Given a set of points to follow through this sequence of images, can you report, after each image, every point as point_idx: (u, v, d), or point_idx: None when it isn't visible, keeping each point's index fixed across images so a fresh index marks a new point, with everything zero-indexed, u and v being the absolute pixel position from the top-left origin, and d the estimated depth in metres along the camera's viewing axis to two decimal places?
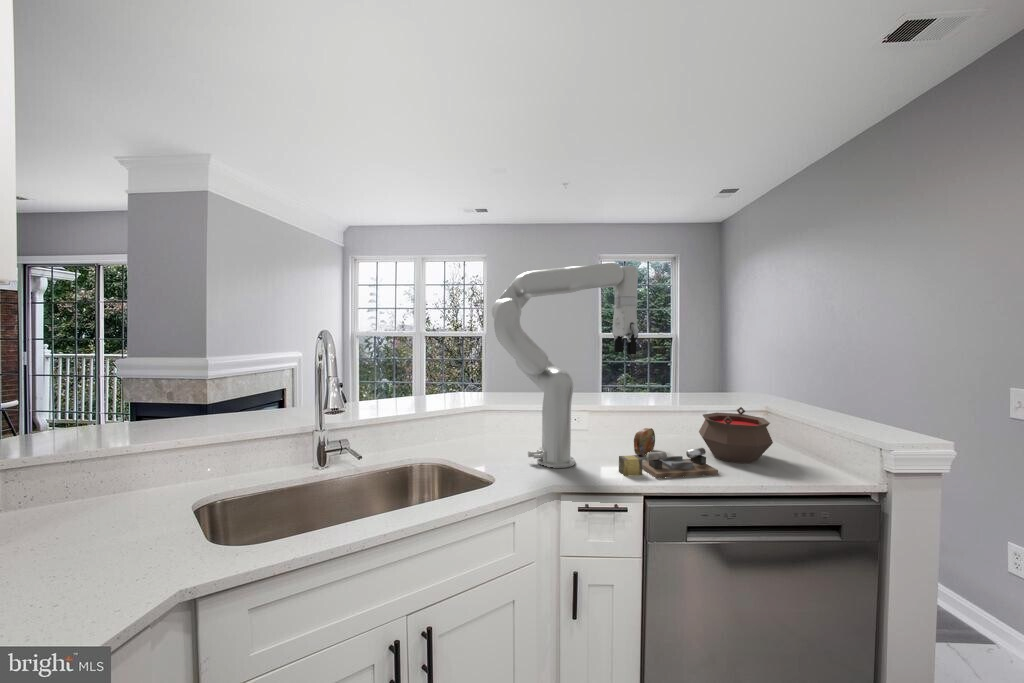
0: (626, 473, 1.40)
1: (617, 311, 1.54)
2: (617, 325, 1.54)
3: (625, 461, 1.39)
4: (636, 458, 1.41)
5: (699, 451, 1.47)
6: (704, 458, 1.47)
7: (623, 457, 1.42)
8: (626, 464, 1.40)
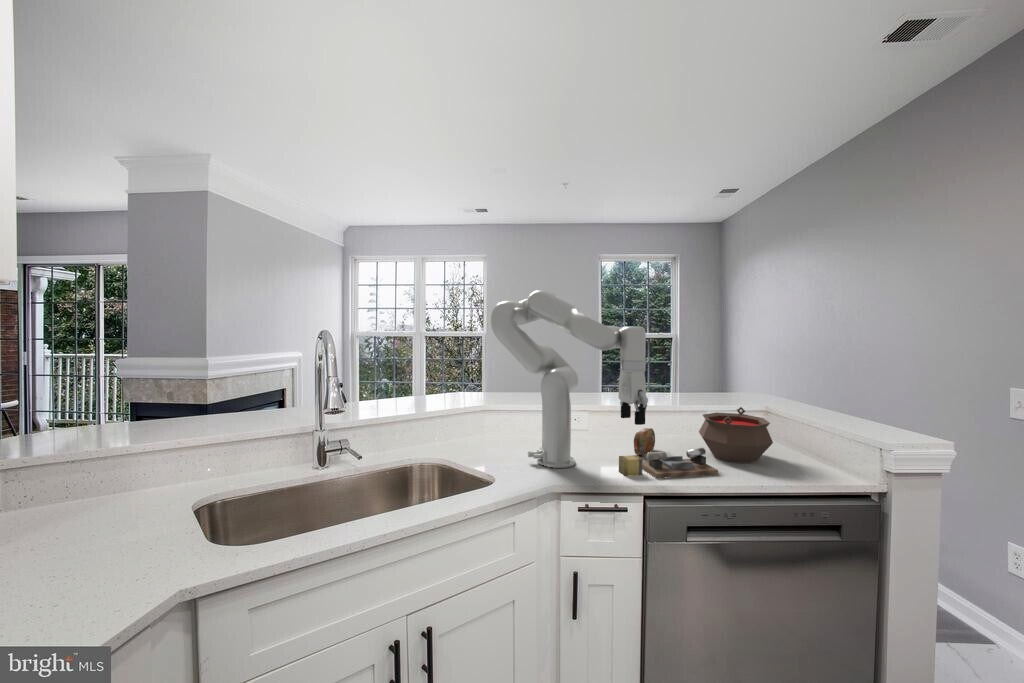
0: (626, 473, 1.40)
1: (624, 376, 1.40)
2: (624, 391, 1.41)
3: (625, 461, 1.39)
4: (636, 458, 1.41)
5: (699, 451, 1.47)
6: (704, 458, 1.47)
7: (623, 457, 1.42)
8: (626, 464, 1.40)
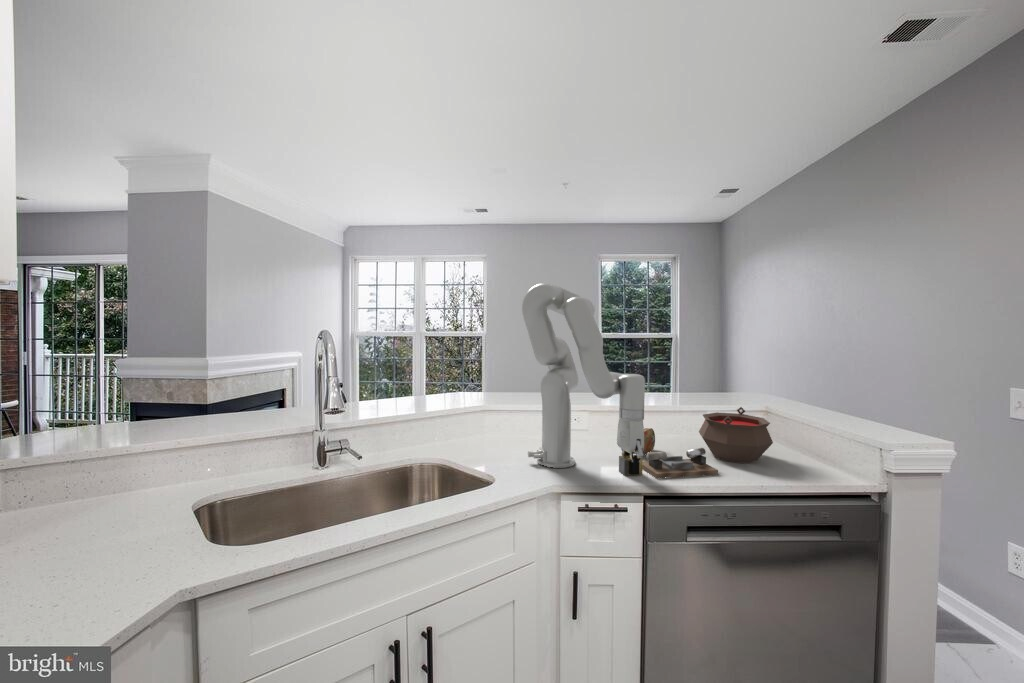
0: (626, 473, 1.40)
1: (623, 423, 1.41)
2: (622, 438, 1.41)
3: (625, 461, 1.39)
4: None
5: (699, 451, 1.47)
6: (704, 458, 1.47)
7: (623, 457, 1.42)
8: (626, 464, 1.39)
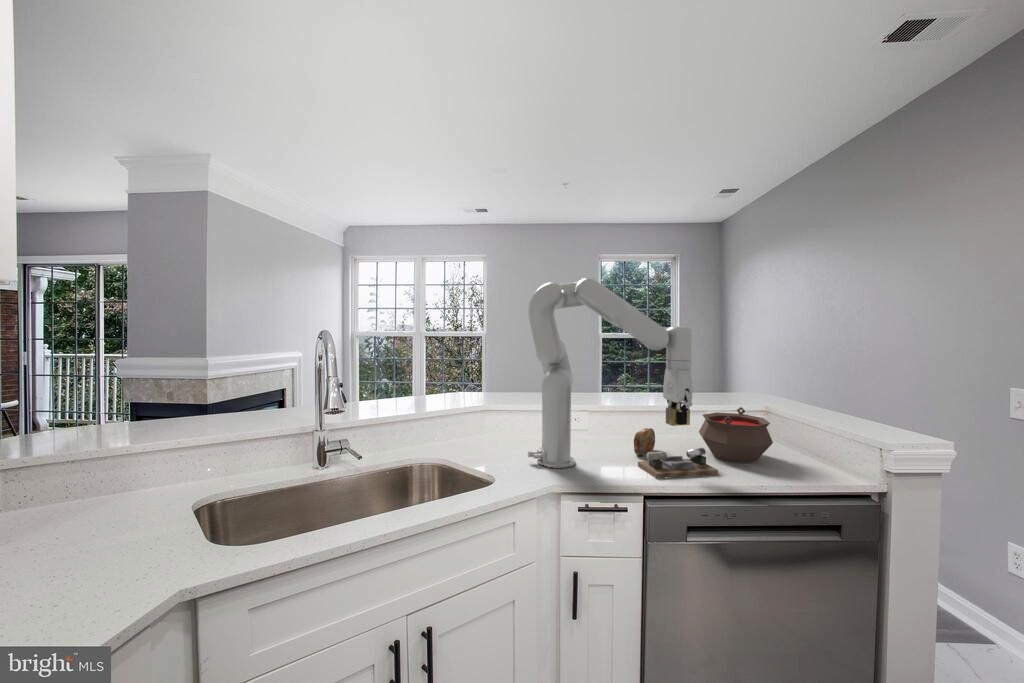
0: (674, 423, 1.42)
1: (670, 375, 1.43)
2: (669, 389, 1.44)
3: (673, 411, 1.42)
4: None
5: (699, 451, 1.47)
6: (704, 458, 1.47)
7: (670, 408, 1.44)
8: (674, 414, 1.42)
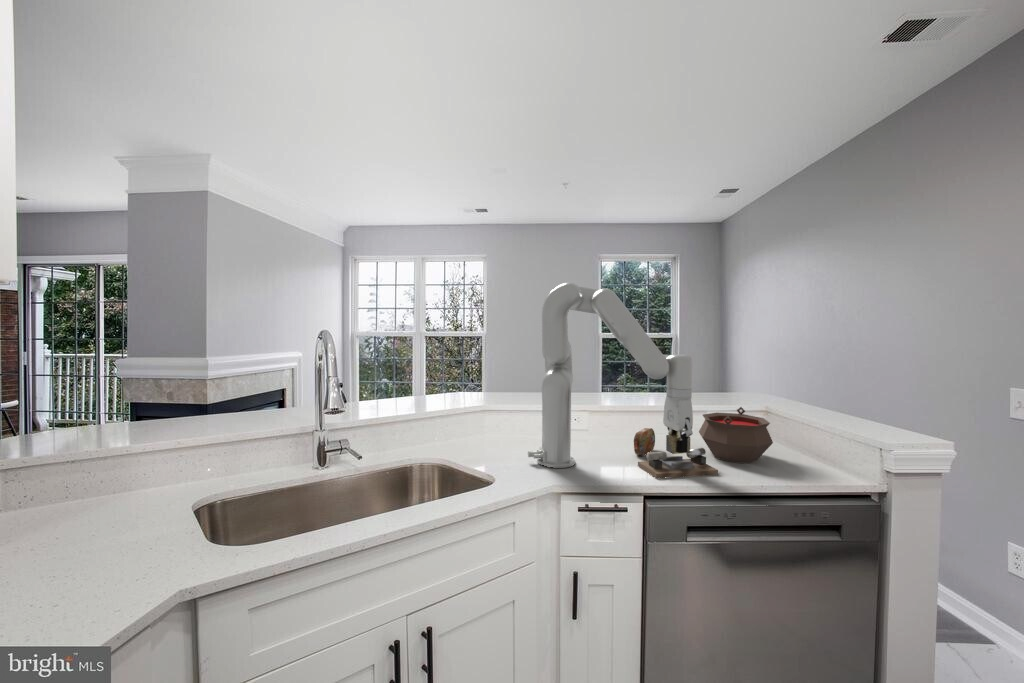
0: (675, 451, 1.42)
1: (670, 403, 1.44)
2: (670, 417, 1.44)
3: (674, 439, 1.42)
4: None
5: (699, 451, 1.47)
6: (704, 458, 1.47)
7: (671, 436, 1.45)
8: (675, 442, 1.42)
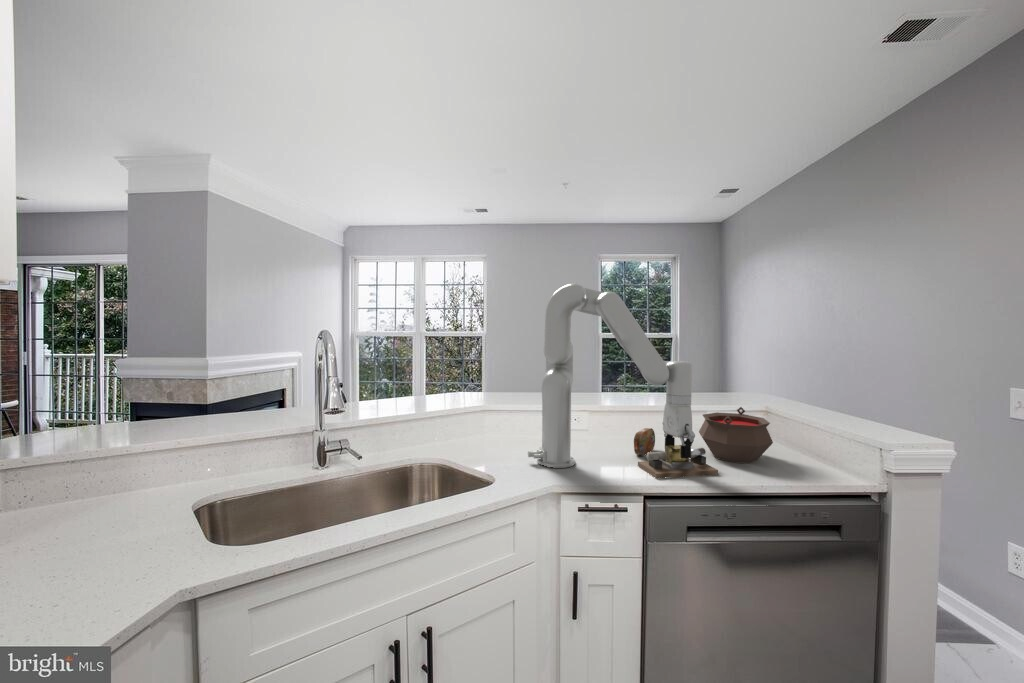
0: (673, 462, 1.43)
1: (670, 409, 1.44)
2: (669, 423, 1.44)
3: (672, 450, 1.42)
4: None
5: (699, 451, 1.47)
6: (704, 458, 1.47)
7: (670, 447, 1.45)
8: (674, 453, 1.43)
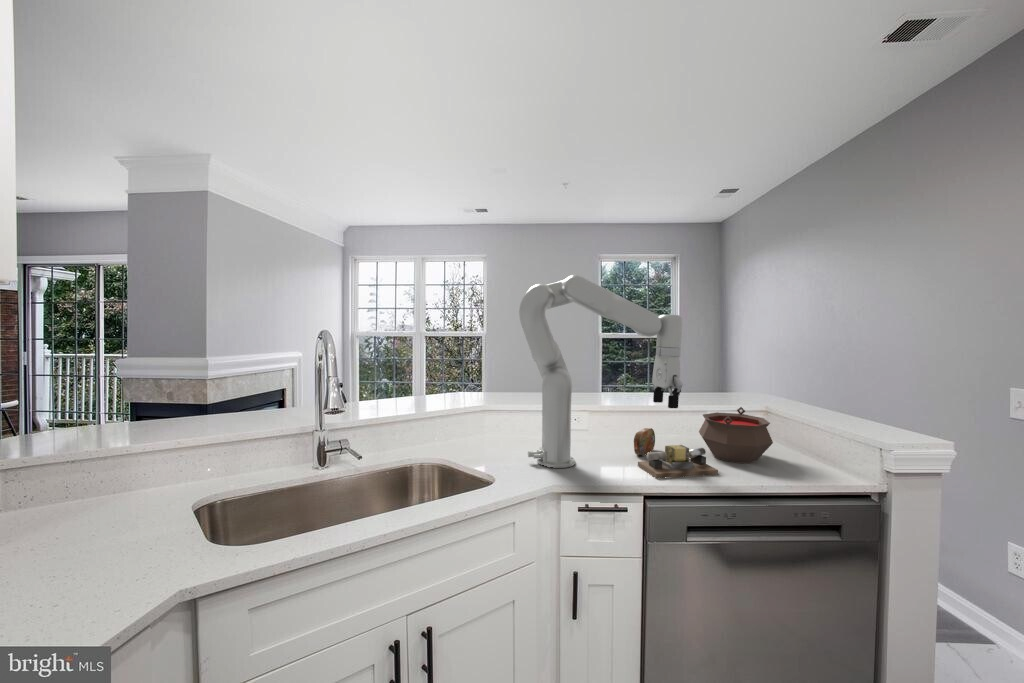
0: (673, 462, 1.43)
1: (659, 362, 1.47)
2: (658, 376, 1.47)
3: (672, 450, 1.42)
4: (683, 447, 1.44)
5: (699, 451, 1.47)
6: (704, 458, 1.47)
7: (670, 447, 1.45)
8: (674, 453, 1.43)
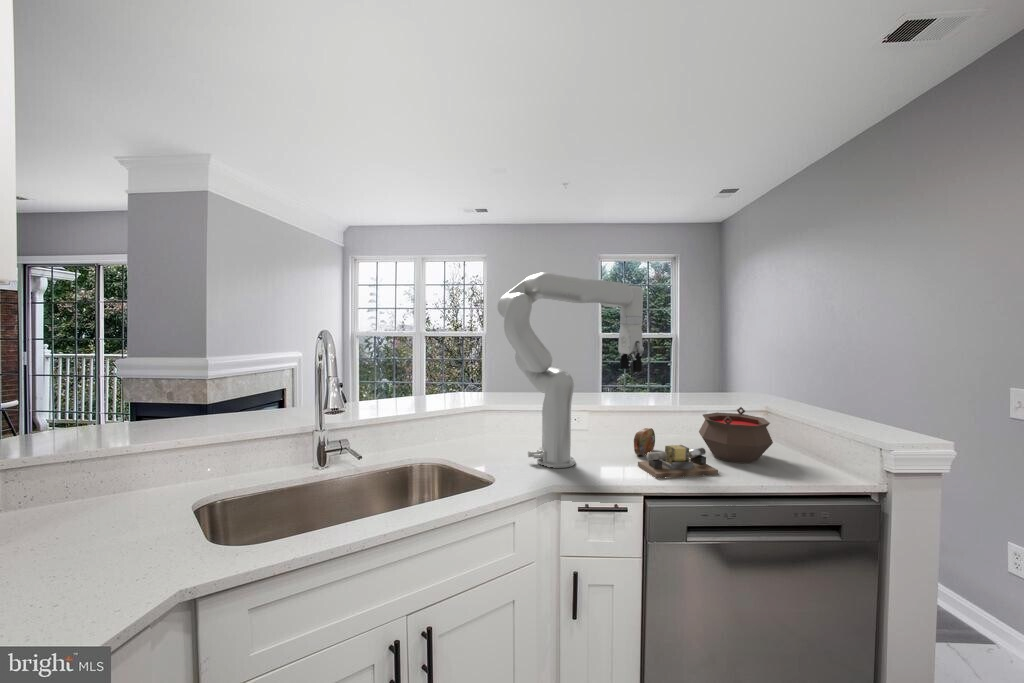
0: (673, 462, 1.43)
1: (623, 330, 1.59)
2: (623, 343, 1.59)
3: (672, 450, 1.42)
4: (683, 447, 1.44)
5: (699, 451, 1.47)
6: (704, 458, 1.47)
7: (670, 447, 1.45)
8: (674, 453, 1.43)
